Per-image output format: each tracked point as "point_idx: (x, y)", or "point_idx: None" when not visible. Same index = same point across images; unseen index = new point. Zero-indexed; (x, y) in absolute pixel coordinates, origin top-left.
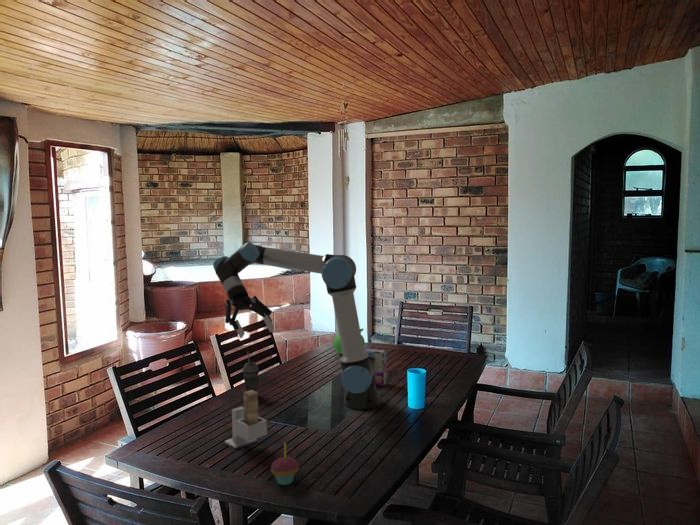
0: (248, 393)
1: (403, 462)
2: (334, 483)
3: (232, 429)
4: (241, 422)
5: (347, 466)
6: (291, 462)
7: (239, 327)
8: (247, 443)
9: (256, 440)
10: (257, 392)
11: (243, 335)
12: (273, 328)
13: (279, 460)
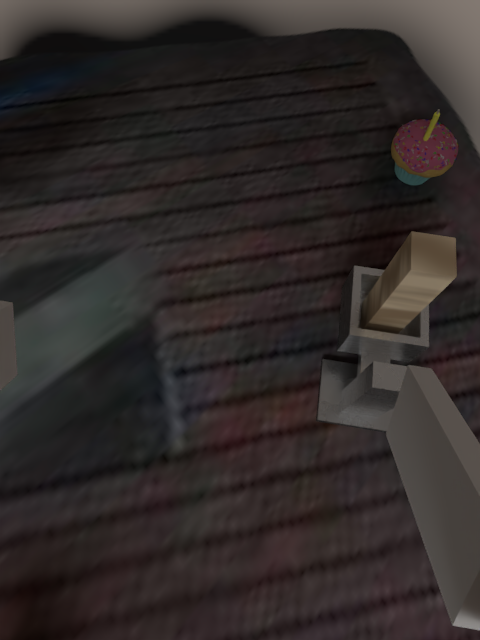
0: (449, 249)
1: (190, 51)
2: (346, 101)
3: (389, 410)
4: (424, 318)
5: (275, 116)
6: (424, 122)
7: (467, 430)
8: (356, 365)
9: (324, 360)
10: (412, 232)
11: (398, 397)
12: (2, 306)
13: (442, 141)
